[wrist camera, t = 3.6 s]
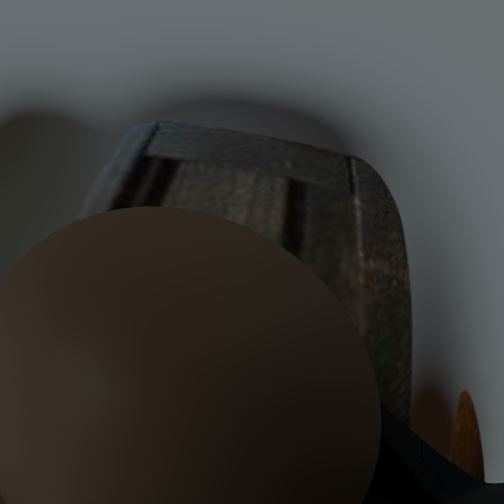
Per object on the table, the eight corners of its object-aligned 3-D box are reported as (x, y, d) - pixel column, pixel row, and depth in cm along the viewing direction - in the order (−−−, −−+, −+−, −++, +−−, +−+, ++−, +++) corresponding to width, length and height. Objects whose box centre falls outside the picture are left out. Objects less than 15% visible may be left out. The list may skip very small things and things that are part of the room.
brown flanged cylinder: (234, 467, 12) (296, 618, 1) (125, 426, 12) (-49, 463, 1) (268, 365, 15) (408, 282, 4) (162, 328, 15) (66, 170, 4)
